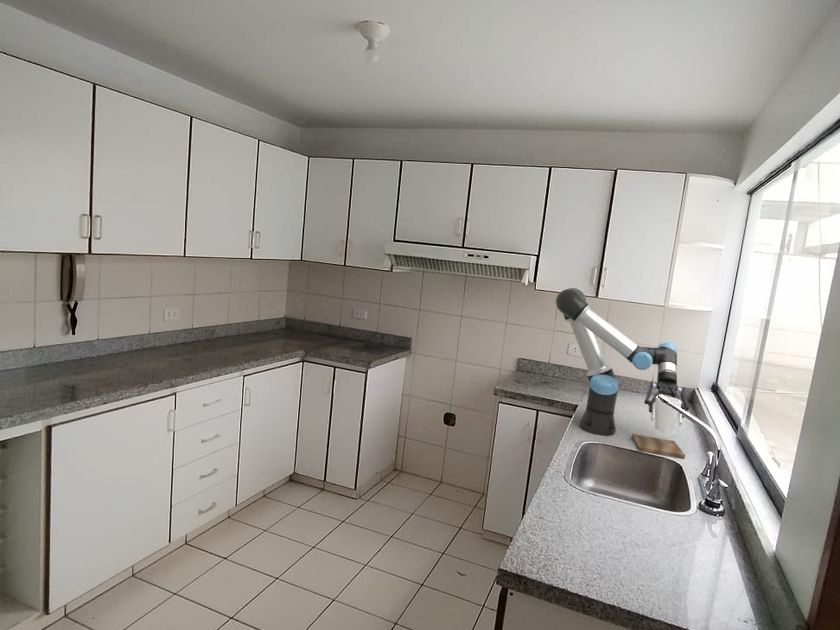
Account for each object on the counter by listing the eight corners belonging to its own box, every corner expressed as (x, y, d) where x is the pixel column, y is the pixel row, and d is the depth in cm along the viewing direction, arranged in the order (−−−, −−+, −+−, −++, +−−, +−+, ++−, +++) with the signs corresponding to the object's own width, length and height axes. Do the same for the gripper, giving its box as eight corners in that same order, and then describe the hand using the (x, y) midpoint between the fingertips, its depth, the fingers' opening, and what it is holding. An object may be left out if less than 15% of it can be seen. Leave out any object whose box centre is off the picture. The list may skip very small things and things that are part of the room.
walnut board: (639, 450, 206) (639, 447, 206) (631, 437, 221) (632, 433, 221) (684, 458, 203) (685, 455, 202) (673, 444, 218) (674, 441, 218)
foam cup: (678, 435, 205) (684, 404, 203) (654, 431, 207) (659, 400, 205) (672, 427, 214) (677, 397, 213) (648, 424, 216) (653, 394, 214)
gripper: (693, 384, 219) (694, 431, 207) (637, 375, 226) (635, 420, 213) (697, 375, 214) (699, 422, 201) (640, 366, 220) (638, 412, 207)
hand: (666, 421), depth 207 cm, fingers closed on foam cup, 9 cm apart
